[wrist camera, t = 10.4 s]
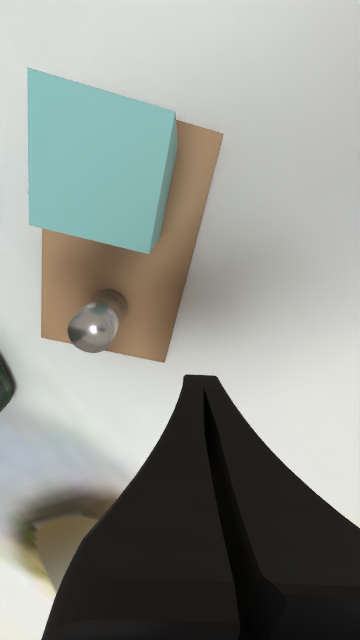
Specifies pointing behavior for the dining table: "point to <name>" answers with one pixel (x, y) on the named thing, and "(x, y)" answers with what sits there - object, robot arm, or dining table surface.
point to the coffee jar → (4, 388)
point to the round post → (98, 321)
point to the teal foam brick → (98, 162)
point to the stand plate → (134, 260)
